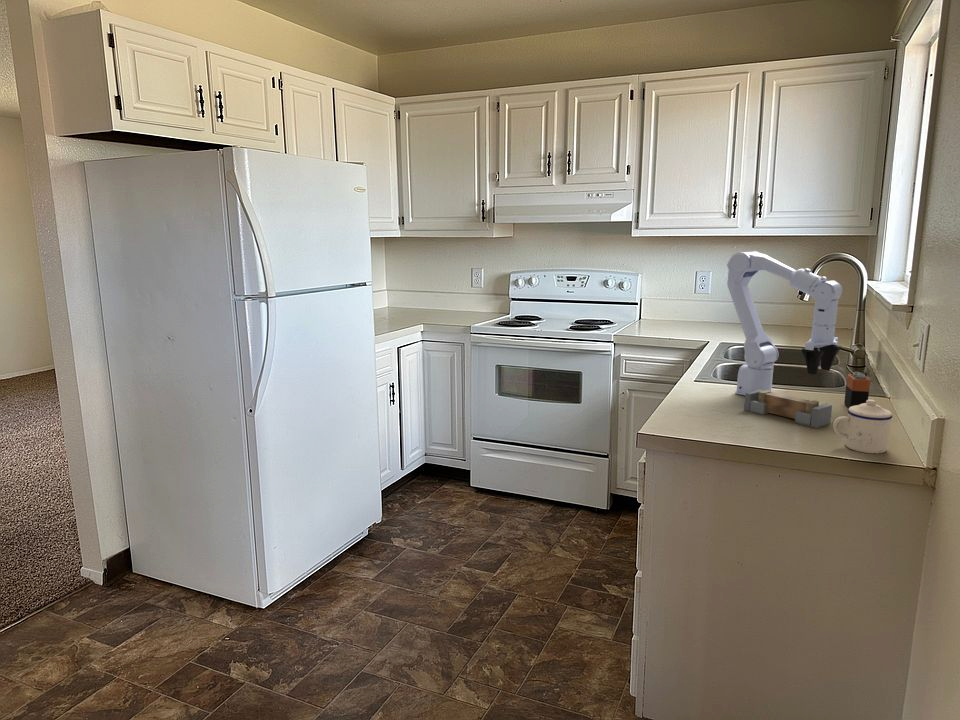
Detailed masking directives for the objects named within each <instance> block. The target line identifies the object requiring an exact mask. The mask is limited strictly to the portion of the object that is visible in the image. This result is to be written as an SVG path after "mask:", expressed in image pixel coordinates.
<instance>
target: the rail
mask: <svg viewBox="0 0 960 720" xmlns="http://www.w3.org/2000/svg"><path fill="white" fill-rule="evenodd" d="M758 402H762V403H766V412H768V413H767V414H774V415H777V416H781V417H786V418H789V419H790V418H791V419H794V420H795V416H796V412H797V411H800V412H804V413H809V414H812V408H814V407H817V406H820V401H816V400H810V399H803V398H799V397H795V396H790V395H787V394H782V393H777V392H772V390H771V391H767V390H765V391H761V392H759V400H758Z"/></svg>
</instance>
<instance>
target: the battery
mask: <svg viewBox="0 0 960 720" xmlns="http://www.w3.org/2000/svg"><path fill="white" fill-rule="evenodd" d="M870 387H871V379H870V378H868V377H867V376H866V374H862V373H861V372H859V371H854V373H848V374H847V376H846V385H845V391H844V401H843V404H845V406H846V407H848V409H849V408H850V407H851V406H856V405H860V404H863V403H866V401H867V400H869V396H870Z"/></svg>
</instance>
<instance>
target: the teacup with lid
mask: <svg viewBox="0 0 960 720" xmlns="http://www.w3.org/2000/svg"><path fill="white" fill-rule="evenodd" d="M847 414H848V415H847V416H844V415H843V416H838V417H837V418H835V419H834V421H833V424H832V427H833V430H834V432H835V433H836V434H837V435H838V436H839V437H841V438H845V440H844V446H846V447H847V448H849V449H851V450H853V451H856V452H860V453H865V454H874V453H875V454H883V453H885V452H886V451H887V450H888V442H889V435H890V428H891V421H892V418H893V413H892V412H891V411H890V410H888V409H886V408H883V407H882V406H880V405H879V404H877V401H876V400H874V399H869V398H868V400H867V401H866V403H863V404H860V405H856V406H851V407H850V408H849V407H848V409H847ZM841 421H847V423H846V430H845V433H842V432H839V429H838V424H839V423H840V422H841Z"/></svg>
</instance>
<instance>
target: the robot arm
mask: <svg viewBox="0 0 960 720" xmlns="http://www.w3.org/2000/svg"><path fill="white" fill-rule="evenodd" d="M726 267H727V270H728V272H727V273H728V274H727V280H726V281H727V284H726V285H727V288H728V291H729V295H730V297H731V299H732V303H733V306H734V308H735V311H736V314H737V317H738V320H739V322H740V325H741V329H742V331H743V334H744V337H745V341H744V343H743V350H744V355H743V356H744V362H745V363H746V364H742V365H741V366H739V369H738V373H737V379H736V380H737V381H736V391H734V393H735V394H737V395H742V396H745V393H747V392H751V391H754V390H758V389H762V390H767V391H771V392H772V387H773V374H774V368H775V367H774V366H775V365H774V363H775V362H776V361H777V360H778V359H779V350H778V347H776V345H775V344H774V343H773V342H772V339H771V337H770V336H768V335H767V334H766V333H765V331H764V328H763V326H762V322H761V320H760V317H759V314H758V311H757V308H756V305H755V302H754V300H753V297H752V294H751V291H750V288H749V283H750V282H751V279H752V278H753V276H755V275H756V274H757V273H759V272H760V271H766V272H768V273H770V274H773V275H776V276H778V277H780V278H783V279H785V280H787V281H788V282H789V284H790V287H791V288H794V289H796V290H798V291H799V292H802V293H804V294H806V295H808V296H810V297H812V300H814V307H813V317H812V327H811V335H810V339H809V340H808V341H806V342H805V346H804V347H801V352H802V355H803V357H804V360H805V364H806V371H807V374H810V375H817V373H818V372H819V371H818V370H819V366H820V369H821V370H823V371H827V372H830V370H831V368H832V365H833V362H834V360H835V358H836V356H837V354H838V353H839V351H840V350H841V348H842V346H840V345H838V344H839V337H836V336H835V333H836V325H837V316H838V315H837V314H838V304H839V299H840V298H841V297H842V295H843V287H842V284H840V283H839V282H838V281H836V280H835V279H834V280H832V279H831V280H827V278H828V277H826V276H820V275H817V274H815V273H813V272H812V269H810V268H799V269H794V268H792V267H790V266H788V265H786V264H784V263H782V262H780V261H779V260H777V259H775V258H773V257H771V256H769V255H767V254H765V253H761V252H759V251H756V250H752V251H751V250H750V251H744V252H743V251H738V252H736V253H734V254H732V256H731V257H730V258H729V260H728V261H727V264H726Z"/></svg>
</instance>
